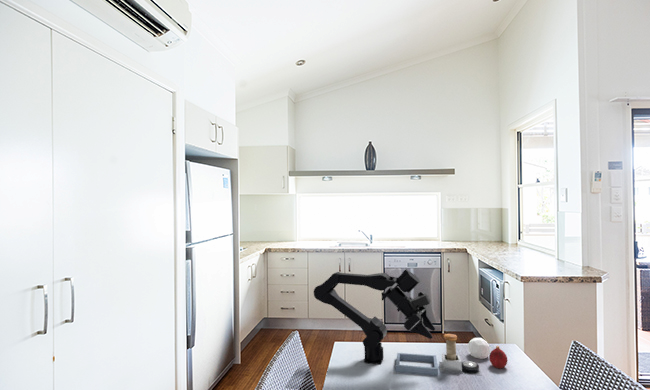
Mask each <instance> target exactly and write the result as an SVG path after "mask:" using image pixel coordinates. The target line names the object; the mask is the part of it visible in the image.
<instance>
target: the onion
mask: <svg viewBox="0 0 650 390" xmlns="http://www.w3.org/2000/svg"><path fill="white" fill-rule="evenodd" d="M488 357H489V361H490V363H491V365H492V366H493V367H494V368H496V369H503V368H505V367H506V365H507V364H508V356H507V353H505V352H504V350H502V349H501V348H500V346H498V345H497V346H496V347H495V348H494V349H492V350H490V354H489V355H488Z"/></svg>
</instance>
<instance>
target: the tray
mask: <svg viewBox="0 0 650 390" xmlns="http://www.w3.org/2000/svg"><path fill="white" fill-rule="evenodd" d="M437 360H438V359H437V355H435V354H421V353H406V352H405V353H404V352H397V353H396V361H395V372H396V373H407V374H417V375H418V374H419V375H432V376H439V367H438V361H437ZM401 361H414V362H415V361H417V362H429V363H433V367H431V366H422V365H421V366H417V365H404V364H401Z"/></svg>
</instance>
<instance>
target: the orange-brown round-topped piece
mask: <svg viewBox="0 0 650 390" xmlns="http://www.w3.org/2000/svg"><path fill="white" fill-rule="evenodd" d="M443 336H444V340H445V348H446V349H445V351H446V354H447V360H456V355H457V340H458V336H457V335H456V334H453V333H445V334H444V335H443Z"/></svg>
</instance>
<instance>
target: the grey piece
mask: <svg viewBox="0 0 650 390" xmlns="http://www.w3.org/2000/svg"><path fill="white" fill-rule="evenodd" d="M438 364H439V369H440V373H445V374H459V375H470V376H472V375H473V376H482V373H481V370H480V364H478V363H477V362H474V361H470V360H465V361H462V359H461V356H460V354H456V360H447V353H441V361H439V363H438Z"/></svg>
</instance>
